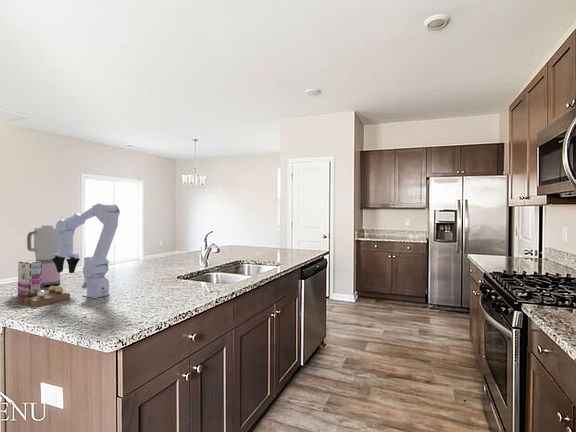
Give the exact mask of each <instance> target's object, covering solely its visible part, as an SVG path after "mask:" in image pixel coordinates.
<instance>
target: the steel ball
mask: <svg viewBox="0 0 576 432" xmlns="http://www.w3.org/2000/svg"><path fill="white" fill-rule="evenodd" d="M46 291H47V290H43V289H41V291H39V292H38V293H37V296H38V297H39V298H43V297H45V296H46Z"/></svg>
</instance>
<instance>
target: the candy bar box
mask: <svg viewBox="0 0 576 432" xmlns="http://www.w3.org/2000/svg"><path fill="white" fill-rule="evenodd" d="M17 264H18V266H17V268H18V269H17V297H18V296H23V295H28V294H34V293H38V292H39V291H41V290H42V287H41V274H42V262H39V261H36V260H29V259H28V260H19V261H17Z"/></svg>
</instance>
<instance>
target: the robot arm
mask: <svg viewBox="0 0 576 432" xmlns="http://www.w3.org/2000/svg"><path fill="white" fill-rule="evenodd" d="M120 214H121V210H120V208H119V206H118V205H117V204H115V203H96V204H94V205H92V206H91V208H89V209H87V210H86V211H84V212H82V213H78V212H76V213H72V216H69V217H66V219H59V220H57V222H56V224H55V228H56V229H57V231H59V253H53V257H55V258H52V260H53V262H54V263H55V265H56V268H57V272H60V273H63V271H64V264H65V261H66V262H67V267H68V272H69V274H74V273H75V271H76V269H77V265H78V264H79V261H80V253H75V252H74V235H75V231H76V229H77V228H79V227H80V226H83V225H84V224H85V223H86V221H88V220H90V219H91V218H94V217H96V218H97V220H99V222H100V223H101V224H102V225H103V227H102V229H101V232H100V235H99V239H98V241H97V243H96V246H95V249H94V251H93V252H94V253H93V255H91V256H92V257H91V258H90V259H89V260H88V261H87V263H86V264H85V265H84V264H83V267H82V273H83V276H84V275H85V276H86V278H87V283H86V293H85V294H81V295H82V297H87V298H92V299H97V298H102V297H106V296H107V297H108V296H110V295H111V293H110V292H109V291H110V281H109V279H108V278H107V277H106V274H107V273H108V271H109V264H110V260H109V259H107V257H108V255H109V254H108V253H109V251H110V248H111V246H112V245H111V244H112V243H113V240H114V237H115V235H116V232H117V229H118V226H119V217H120Z"/></svg>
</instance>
